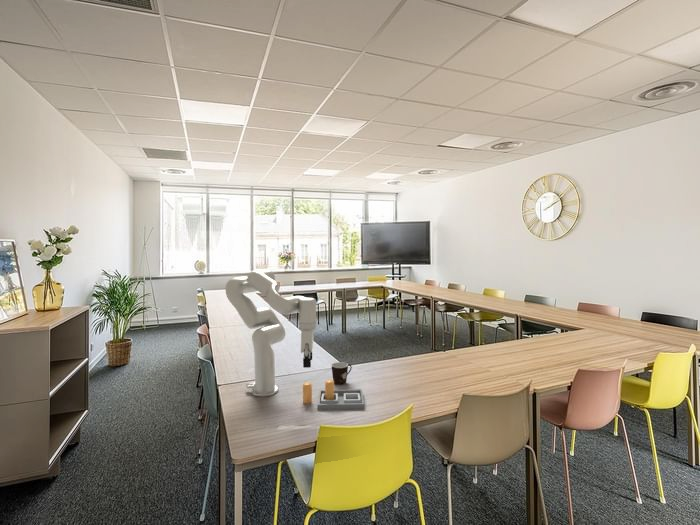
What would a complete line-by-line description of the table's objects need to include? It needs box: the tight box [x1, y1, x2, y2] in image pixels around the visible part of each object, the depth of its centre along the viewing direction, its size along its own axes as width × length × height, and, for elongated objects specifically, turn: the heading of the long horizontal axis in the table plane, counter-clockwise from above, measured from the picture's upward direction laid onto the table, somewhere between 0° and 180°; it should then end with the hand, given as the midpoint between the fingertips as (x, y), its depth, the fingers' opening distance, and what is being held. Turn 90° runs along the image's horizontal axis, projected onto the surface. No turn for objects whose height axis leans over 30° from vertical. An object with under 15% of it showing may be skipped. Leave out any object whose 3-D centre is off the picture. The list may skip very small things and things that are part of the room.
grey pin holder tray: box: [316, 389, 365, 411], centre depth 153 cm, size 20×15×3 cm
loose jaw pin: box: [302, 381, 313, 405], centre depth 152 cm, size 4×4×9 cm
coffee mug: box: [330, 361, 353, 386], centre depth 175 cm, size 12×9×10 cm
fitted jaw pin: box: [324, 379, 335, 400], centre depth 152 cm, size 4×4×9 cm
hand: (307, 363), depth 152 cm, fingers open, 9 cm apart
